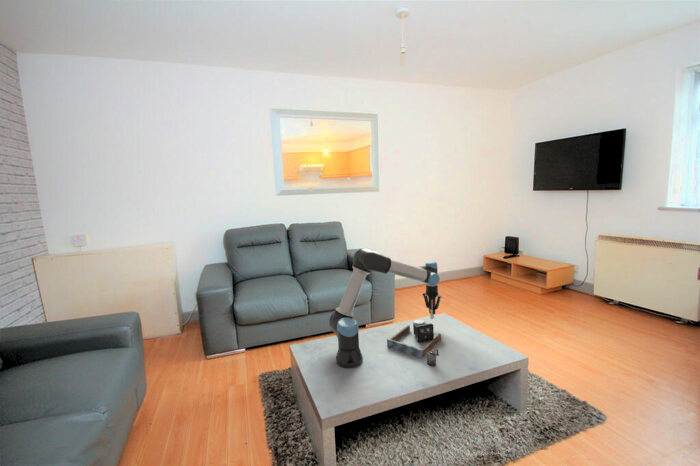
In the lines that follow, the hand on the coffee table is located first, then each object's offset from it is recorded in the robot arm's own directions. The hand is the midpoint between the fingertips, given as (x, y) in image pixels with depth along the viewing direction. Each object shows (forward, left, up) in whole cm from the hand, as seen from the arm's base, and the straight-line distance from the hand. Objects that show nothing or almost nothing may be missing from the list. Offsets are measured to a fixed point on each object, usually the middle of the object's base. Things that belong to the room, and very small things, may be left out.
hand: (432, 318), depth 212 cm
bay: (0, -25, -7) cm, 26 cm away
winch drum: (+18, -40, -7) cm, 45 cm away
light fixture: (0, -16, -7) cm, 18 cm away
